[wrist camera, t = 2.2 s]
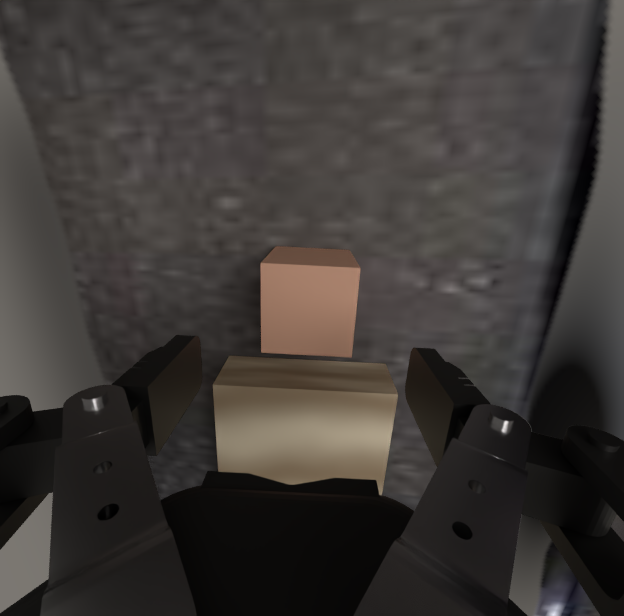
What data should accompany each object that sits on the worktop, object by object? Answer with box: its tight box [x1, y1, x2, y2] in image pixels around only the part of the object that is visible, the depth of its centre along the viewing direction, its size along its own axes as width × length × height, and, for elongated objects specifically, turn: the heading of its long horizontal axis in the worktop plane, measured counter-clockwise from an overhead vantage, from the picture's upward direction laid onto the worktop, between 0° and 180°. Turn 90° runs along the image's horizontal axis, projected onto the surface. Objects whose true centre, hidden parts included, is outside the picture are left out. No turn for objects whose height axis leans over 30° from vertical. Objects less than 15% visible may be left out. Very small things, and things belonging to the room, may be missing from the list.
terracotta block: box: [261, 246, 360, 357], centre depth 19 cm, size 5×5×6 cm
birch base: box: [213, 356, 398, 495], centre depth 24 cm, size 14×12×4 cm
